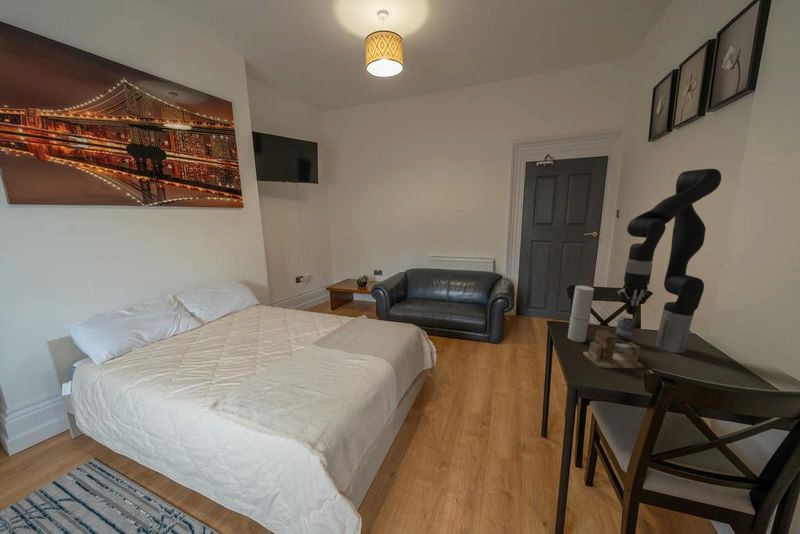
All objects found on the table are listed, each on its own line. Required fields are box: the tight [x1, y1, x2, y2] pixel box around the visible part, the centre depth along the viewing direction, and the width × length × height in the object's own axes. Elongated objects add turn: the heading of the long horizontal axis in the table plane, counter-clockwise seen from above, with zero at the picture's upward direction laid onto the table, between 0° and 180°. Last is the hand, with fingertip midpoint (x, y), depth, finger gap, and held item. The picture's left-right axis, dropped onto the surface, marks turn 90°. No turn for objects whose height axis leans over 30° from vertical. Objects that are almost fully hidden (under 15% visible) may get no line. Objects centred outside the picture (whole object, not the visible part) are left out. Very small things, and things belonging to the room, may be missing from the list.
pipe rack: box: [582, 341, 645, 369], centre depth 113 cm, size 17×10×7 cm, turn 89°
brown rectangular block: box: [594, 329, 617, 359], centre depth 112 cm, size 4×6×10 cm, turn 179°
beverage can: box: [614, 315, 636, 344], centre depth 128 cm, size 6×7×12 cm
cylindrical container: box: [567, 285, 595, 343], centre depth 129 cm, size 7×7×25 cm
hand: (630, 313), depth 110 cm, fingers closed
